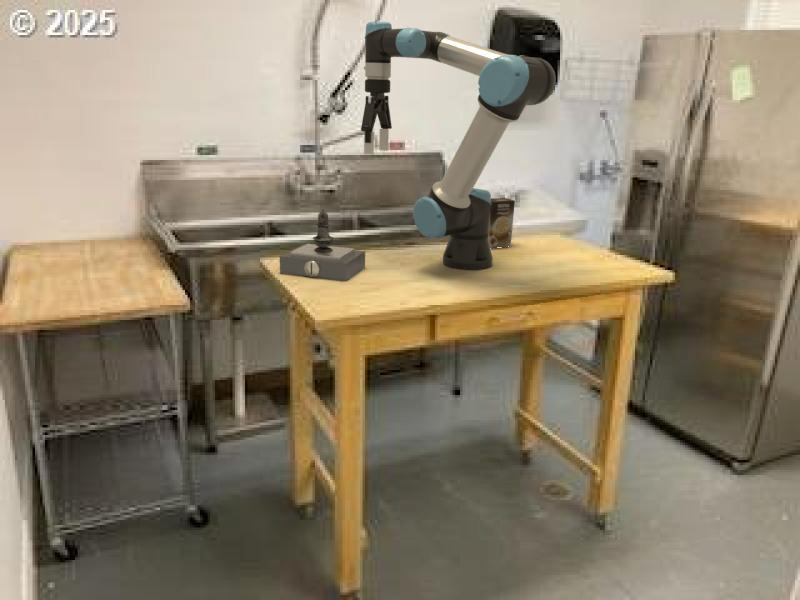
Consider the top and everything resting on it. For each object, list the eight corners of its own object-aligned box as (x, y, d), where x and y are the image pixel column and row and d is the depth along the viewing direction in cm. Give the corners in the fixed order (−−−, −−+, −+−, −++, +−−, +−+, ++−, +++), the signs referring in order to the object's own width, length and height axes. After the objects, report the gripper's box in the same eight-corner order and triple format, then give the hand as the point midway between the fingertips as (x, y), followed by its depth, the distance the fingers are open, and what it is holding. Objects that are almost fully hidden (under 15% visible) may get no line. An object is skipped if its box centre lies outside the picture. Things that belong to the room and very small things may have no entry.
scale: (365, 267, 197) (365, 248, 195) (345, 281, 183) (345, 260, 181) (303, 260, 202) (302, 241, 201) (278, 274, 188) (278, 253, 186)
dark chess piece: (335, 248, 194) (335, 207, 190) (331, 253, 188) (331, 210, 184) (315, 247, 194) (315, 206, 190) (310, 252, 188) (310, 209, 185)
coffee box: (488, 249, 223) (492, 201, 218) (478, 245, 228) (481, 198, 223) (511, 247, 227) (515, 200, 222) (500, 243, 232) (504, 197, 227)
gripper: (379, 78, 209) (378, 148, 216) (350, 77, 186) (349, 155, 193) (402, 79, 207) (400, 149, 214) (375, 78, 184) (374, 156, 191)
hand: (376, 152), depth 203 cm, fingers open, 13 cm apart
